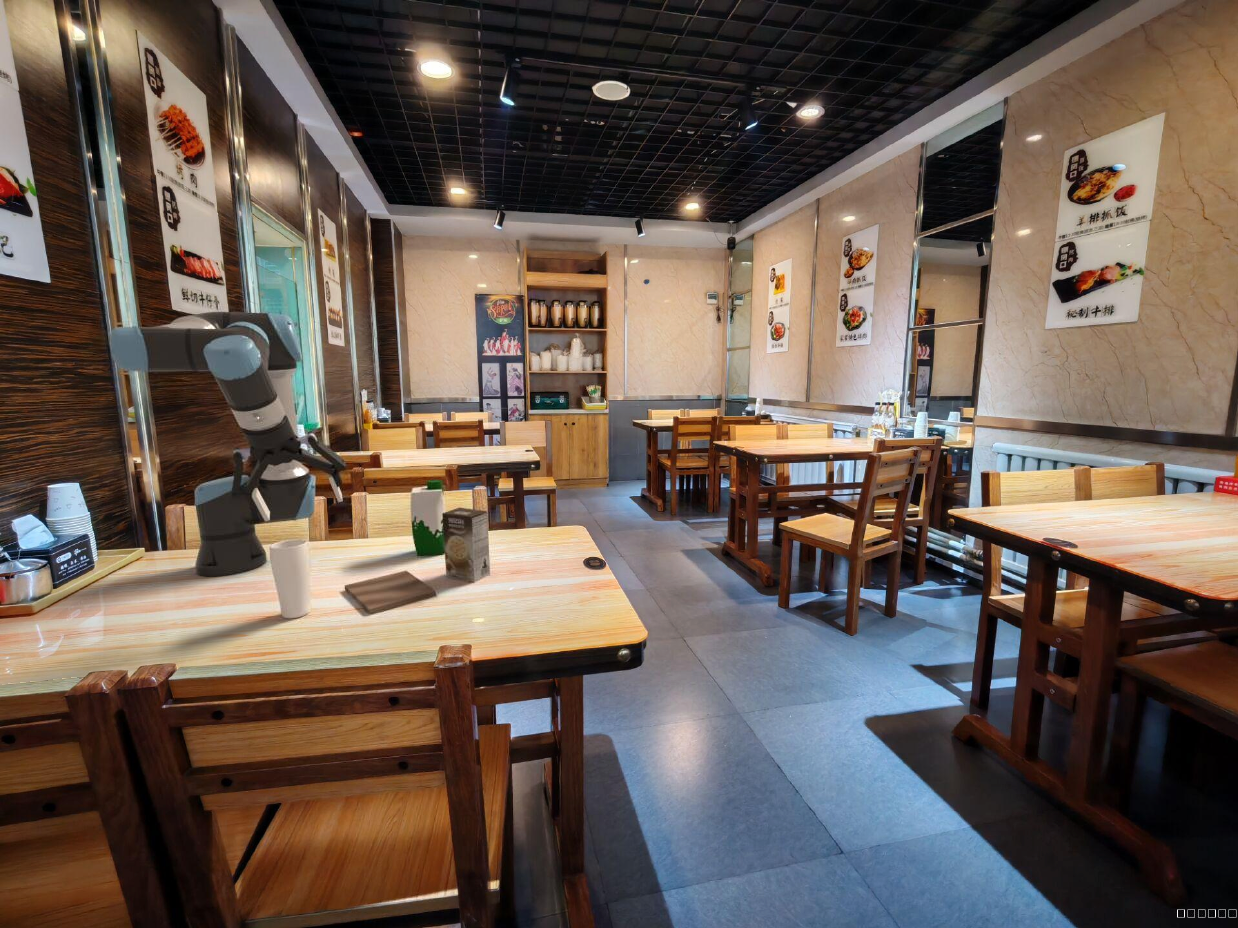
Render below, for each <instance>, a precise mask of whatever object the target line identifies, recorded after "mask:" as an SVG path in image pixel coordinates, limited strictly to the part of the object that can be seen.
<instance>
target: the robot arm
mask: <svg viewBox="0 0 1238 928" xmlns="http://www.w3.org/2000/svg"><path fill="white" fill-rule="evenodd" d="M109 345H110V352H111V356H112V359H113V361H114V363H115V364H116V366H117V367H118V368H119V369H120V370H122V371H125V372H141V373H147V372H211V373H210V374H212V375H213V377H214V379H215V381H216V382H217V385H218V387H219V389H220V390H221V392H222V394H223V396H224V398H225V400H226V402H227V404H228V405H229V408H230V410H231V412H232V414H233V416H234V418H235V419H236V422H237V424H238V426H239V427H240V428H241V431H242V434H243V436H244V438H245V440H246V441H247V444H248V446H249V448H244V449H242V448H241V447H239V446H237V447H235V448H234V449H233V454H232V459H233V461H234V463H235V467H234V468H235V469H234V474H233V476H228V477H222V478H217V479H214V480H211V481H207V482H204V483H200V484H199V485H198V486H196V488H195V489H194V506H195V509H196V510H195V511H196V517H197V523H198V524H197V525H198V530H199V537H200V545H199V549H198V553H197V557H196V560H195V572H196V575H199V576H203V577H218V576H227V575H234V574H239V573H243V572H246V571H250V570H253V569H256V568H259V567H261V566H263V565H265V564H266V563H267V562H268V557H267V552H266V550H265V548H264V546H263V545H262V543H261V541H260V539H259V537H258V534H257V533H256V532H257V531H256V526H255V525H262V524H264V525H265V524H272V523H279V522H280V523H281V522H290V521H294V522H295V521H298V520H303V519H309V518H312V516H313V515H314V513H315V503H316V502H315V499H316V475H313V474H310V469H309V467H307V466H310V467H312V468H315V469H317V470H320V471H322V472H324V473H326V474H327V476H328V477H327V478H328V481H329V483H330V485H331V487H332V490H333V492H334V494H335V497H336V499H337V502H338V503H341V502H343V494H342V490H341V489H340V487H343V479H342V476H341V474H340V473H341V472H345V471H346V470H347V465H346V464H347V463H346V460H345V459H343V458H342V457H341V456H340V455H339V454H338V453H336V452H335V451H334V450H332V449H331V448H329V446H327V444H325V443H323V442H322V441H321V440H319V438H318V437H317V435H316V433H315V431H313V430H311V431H308V432H307V434H306V435H302V436H299V433H298V432H299V431H298V424H297V415H296V408H295V407H296V406H295V399H294V390H293V389H294V388H293V382H292V381H293V380H292V375H293V374H294V373H295V372H296V370H297V369H298V365H297V363H300V362H303V354H302V349H301V345H300V341H299V337H298V332H297V330H296V327H295V324H294V321H293V319H292V318H291V317H290V316H289V315H287V314H282V313H272V312H243V311H241V312H240V311H239V312H238V311H231V312H230V311H208V312H202V313H196V314H191V315H190V314H189V315H186V316H180V317H178V318H175V319H174V320H173V321H172V322H171V323H170V324H169V323H168V324H162V325H157V326H134V325H133V326H119V327H118V326H117V327H114V328H113V329H112V331H111V332H110V336H109ZM303 444H304V445H306V446H307V447H308V448H310V447H311V449H313V450H314V452H316V453H317V454H318V455H320V456H321V457H319V456H317V455H315V454H313V453H311V452H309V451H307V450H306V449H305V448H303V447H301V446H302V445H303ZM249 457H252V458H255V459H256V460H258V461H257V462H256V465H255V467H254V469H253V471H252V472H251V474H250V475H247V474H243V471H244V465H245V462H246V461H248V460H249ZM322 457H323V458H322ZM302 463H304V464H305V465H307V466H305V465H303V464H302Z"/></svg>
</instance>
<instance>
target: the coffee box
mask: <svg viewBox="0 0 1238 928" xmlns="http://www.w3.org/2000/svg"><path fill="white" fill-rule="evenodd" d="M442 516H443V532H444V548H445V554H444V559H445V560H444V561H445V563H444V564H445V577H447V578H451V579H456V580H461V581H467V582H473V583H475V582H478V581H480V580H481V579H483V578H485V577H487V576H489V575H491V560H490V559H491V558H490V541H489V521H488V520H489V519H488V518H489V517H488V510H480V509H473V508H464V507H457V508H454V509H452V510H448V511H446V512H445V513H442Z"/></svg>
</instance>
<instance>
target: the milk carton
mask: <svg viewBox="0 0 1238 928" xmlns="http://www.w3.org/2000/svg"><path fill="white" fill-rule="evenodd" d="M444 493H445V492H444V486H443V480H442V479H429V480H426V486H425V485H424V486H420V487H412V489H411V493H410V517H411V520H410V521H411V531H412V532H411V534H412V540H413V543H414V549H415V552H416V556H417V558H419V556H421V557H429V556H438V555H445V548H444V532H443V516H442V513H445V512H447V511H446V503H445V496H444Z"/></svg>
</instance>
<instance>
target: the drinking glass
mask: <svg viewBox="0 0 1238 928" xmlns="http://www.w3.org/2000/svg"><path fill="white" fill-rule="evenodd" d="M309 548H310V546H309V541H308V540H306V539H303V538H297V539H296V538H295V539H287V540H282V541H277V542H275V543H273V544H271V545H269V557H270V559H269V560H270V565H271V571H272V575H273V580H274V583H275V589H276V593H277V597H278V601H279V607H280V613H281V616H282V618H284V619H297V618H302V617H304V616H306V615H308V614H309V613H310V612H312V602H311V599H312V598H311V594H312V593H311V556H310V555H311V554H310V549H309Z"/></svg>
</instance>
